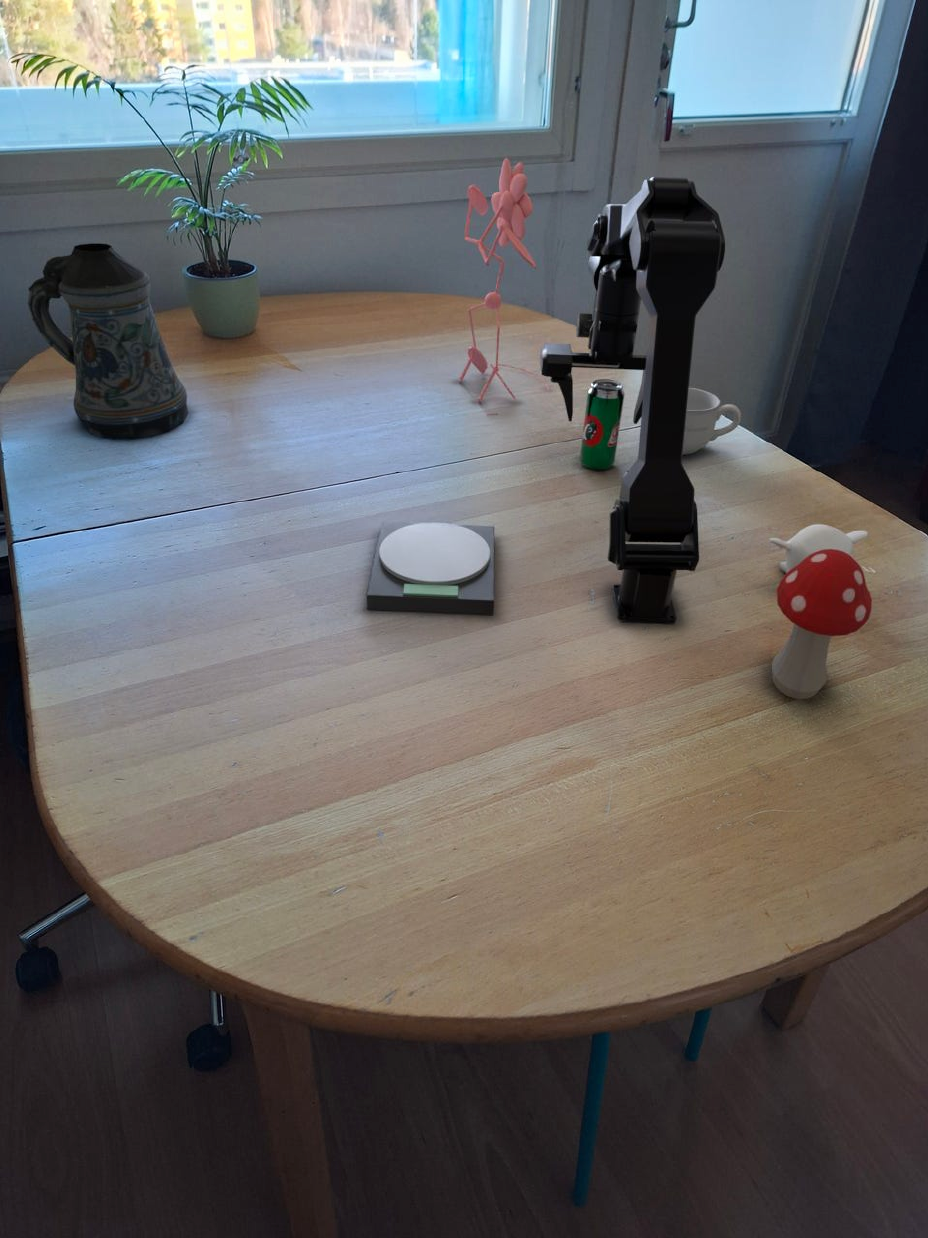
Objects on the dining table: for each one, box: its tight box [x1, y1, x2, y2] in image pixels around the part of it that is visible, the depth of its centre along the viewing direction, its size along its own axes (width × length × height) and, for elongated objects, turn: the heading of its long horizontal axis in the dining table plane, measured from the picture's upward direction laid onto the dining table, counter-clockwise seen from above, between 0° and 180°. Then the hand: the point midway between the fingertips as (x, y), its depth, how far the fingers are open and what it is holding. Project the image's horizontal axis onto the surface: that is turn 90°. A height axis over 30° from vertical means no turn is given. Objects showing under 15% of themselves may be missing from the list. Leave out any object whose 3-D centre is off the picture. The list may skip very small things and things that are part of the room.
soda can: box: [579, 378, 626, 471], centre depth 124 cm, size 5×5×12 cm
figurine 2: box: [768, 523, 876, 574], centre depth 101 cm, size 12×8×10 cm
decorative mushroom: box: [771, 549, 873, 700], centre depth 85 cm, size 10×9×15 cm
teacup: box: [682, 386, 742, 455], centre depth 130 cm, size 14×11×8 cm
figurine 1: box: [458, 157, 550, 416], centre depth 139 cm, size 15×26×35 cm, turn 21°
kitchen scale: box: [366, 521, 495, 616], centre depth 102 cm, size 16×14×3 cm
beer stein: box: [27, 242, 189, 440], centre depth 127 cm, size 16×19×25 cm
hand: (602, 421), depth 123 cm, fingers open, 9 cm apart
